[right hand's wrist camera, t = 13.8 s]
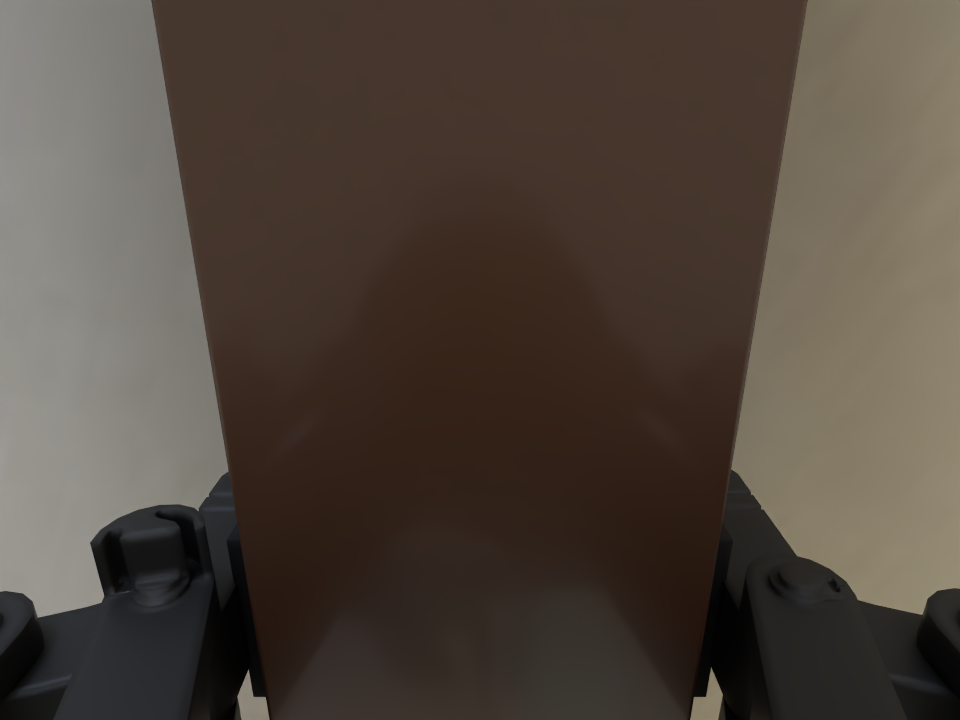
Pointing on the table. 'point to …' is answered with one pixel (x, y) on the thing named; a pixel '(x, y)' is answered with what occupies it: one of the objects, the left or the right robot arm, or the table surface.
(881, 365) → the table surface
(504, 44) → the walnut beam
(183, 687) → the right robot arm
